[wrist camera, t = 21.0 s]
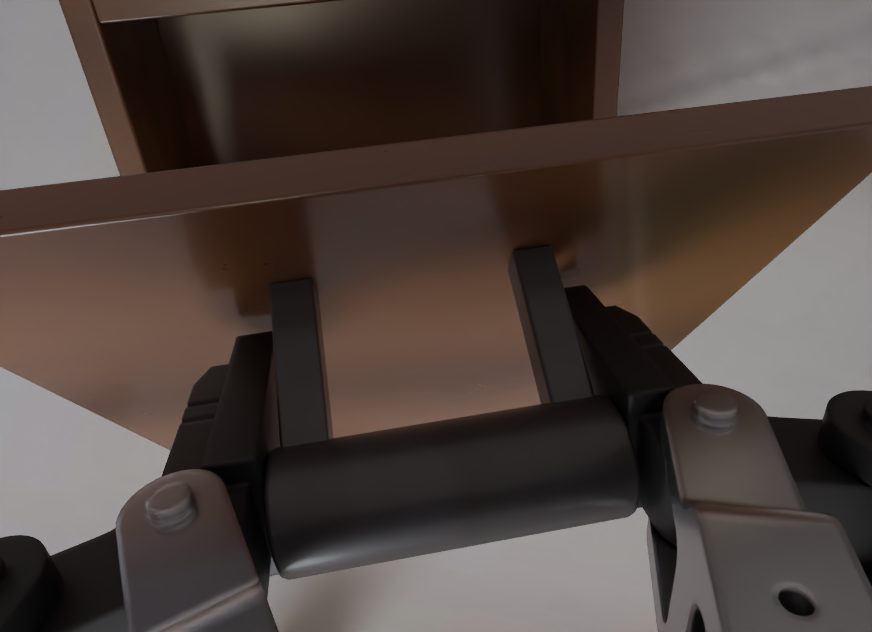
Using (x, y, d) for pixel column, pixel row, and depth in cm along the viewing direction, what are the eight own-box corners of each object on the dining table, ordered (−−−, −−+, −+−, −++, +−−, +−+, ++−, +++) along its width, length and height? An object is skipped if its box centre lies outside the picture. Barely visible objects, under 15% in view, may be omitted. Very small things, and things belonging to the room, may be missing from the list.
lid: (-204, 212, 7) (-346, 688, 5) (914, 78, 9) (1133, 417, 7) (215, 455, 22) (219, 603, 20) (600, 392, 24) (638, 525, 22)
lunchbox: (129, -9, 20) (53, -9, 15) (554, -49, 22) (628, -61, 16) (240, 366, 28) (218, 457, 23) (549, 319, 29) (598, 394, 24)
